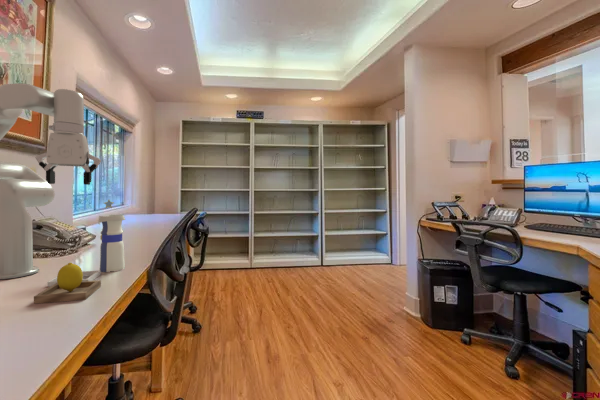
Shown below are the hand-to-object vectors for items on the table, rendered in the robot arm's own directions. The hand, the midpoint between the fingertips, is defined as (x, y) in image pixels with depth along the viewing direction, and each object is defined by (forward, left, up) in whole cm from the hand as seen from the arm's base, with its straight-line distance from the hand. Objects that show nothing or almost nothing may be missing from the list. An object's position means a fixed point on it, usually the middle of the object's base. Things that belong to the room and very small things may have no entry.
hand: (69, 184), depth 94 cm
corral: (+3, -4, -30) cm, 31 cm away
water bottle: (+10, +8, -30) cm, 33 cm away
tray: (+7, -18, -30) cm, 36 cm away
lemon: (+7, -18, -30) cm, 35 cm away
